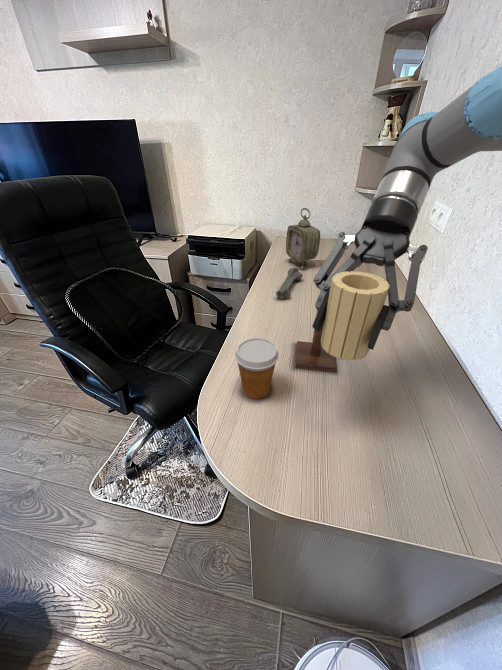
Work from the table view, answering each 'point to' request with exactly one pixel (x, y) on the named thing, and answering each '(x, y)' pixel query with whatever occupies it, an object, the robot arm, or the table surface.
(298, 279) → the bone
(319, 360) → the spindle stand
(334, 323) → the wooden stave sleeve
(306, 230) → the tabletop clock
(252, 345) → the disposable coffee cup
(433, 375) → the table surface
